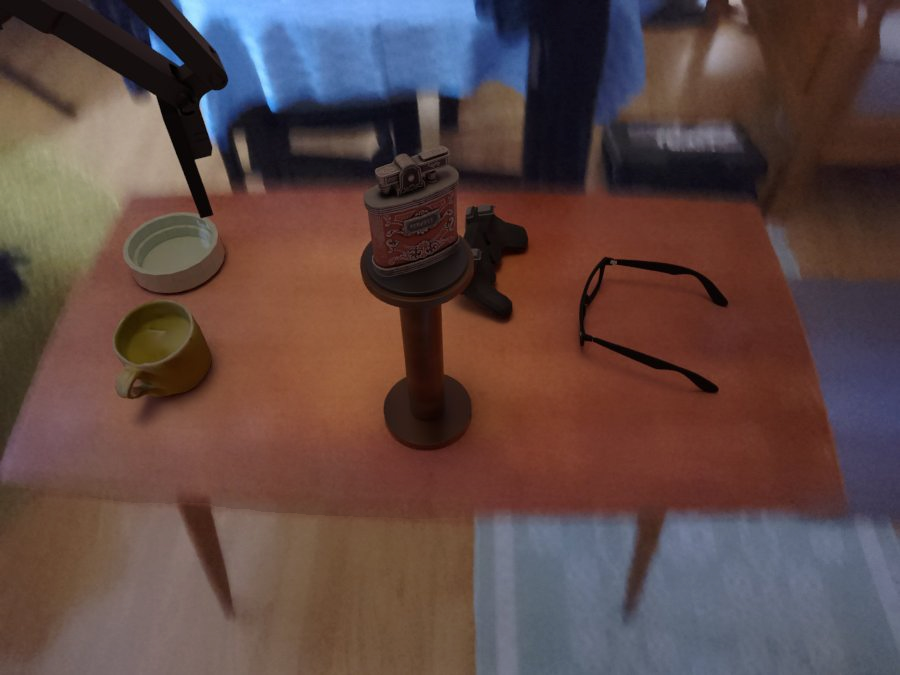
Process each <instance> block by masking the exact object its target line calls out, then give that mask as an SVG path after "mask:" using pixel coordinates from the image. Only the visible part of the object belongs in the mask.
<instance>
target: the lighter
mask: <svg viewBox="0 0 900 675" xmlns="http://www.w3.org/2000/svg"><path fill="white" fill-rule="evenodd" d="M450 164H451V151H450V150H449V149H448V148H447V147H445V146H444V145H440V146H437V147H433V148H431V149H428V150H425V151H422V152H419V153H418V154H416V155H413V156H409V155H408V154H407V153H400V154H397V155H396V156H395V157H394V159H393V161H392V162H391V163H388V164H385V165H383V166H380V167H377V168H375V170H374V173H375V181H376V184H375V185H373V186H372V187H369V188H368V189H367V190H365V191H364V193H363V205H364V207H365V210H366V211H367V217H368V224H369V231H370V238H371V240H372V247H373V254H374V255H373V256H372V262H373V268H374V270H375V272H376V273H377V274H379V275H381V276H384V277H391V276H395V275H400V274H404V273H408V272H411V271H414V270H418V269H421V268H424V267H426V266H429V265H431V264H433V263H435V262H438V261H440V260H442V259H444V258H445V257H447V256H449V255H451V254H452V253H454V252H456V251H457V250H458V248H459V235H460V234H459V233H458V187H459V185H460V174H459V171H458V170H457V169H456V168H455V167H454V166H451V165H450ZM458 234H459V235H458Z"/></svg>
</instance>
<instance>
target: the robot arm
mask: <svg viewBox="0 0 900 675" xmlns="http://www.w3.org/2000/svg"><path fill="white" fill-rule="evenodd" d="M122 1H123V2H124V3H125V5H127V6H128V7H129V9H131V11H132V12H133V13H134V14H135V15H137V17H138V18H139V19H140V20H141V21H142V22H143V23H144V24H145V25H146V26H147V27H148V28H149V29H150V30H151V32H153V33H154V34H155V35H156V36H157V37H158V38H159V39H160V40H161V41H162V42H163V43H164V45H165V46H166V47H167V48H168V49H169V50H170V51H171V52H173V54H175V56H176V57H177V58H178V59H179V60H180V61H181V62H182V63H183V64H181V65H179V64H177V63H176V62H174V61H173V60H171V59H170V58H168V57H166V56H165V55H163V54H162V53H160V52H158V51H157V50H155V49H154V48H152V47H151V46H149V45H148V44H147V43H145V42H143V41H142V40H140V39H139V38H137V37H135V35H132V34H131V33H129V32H128V31H126V30H125V29H123V28H122V27H120V26H119V25H117V24H115V23H114V22H112V21H111V20H109V19H108V18H106V17H104V16H103V15H102V14H100V13H98V12H97V11H96V10H94V9H93V8H91V7H89V6H88V5H87V4H85V3H83V2H81V1H80V0H0V31H2V30H4V25H5V24H6V23H8V22H9V21H11V20H12V19H13V17H15V18H16V19H18V20H20V21H22V22H23V23H25V24H26V25H28V26H30V27H32V28H34V29H35V30H37V31H38V32H40V33H43V34H45V35H52V36H55V37H56V38H58V39H59V40H62V41H63V42H65V43H67V44H68V45H70V46H72V47H73V48H74V49H76V50H78V51H80V52H82V53H83V54H85V55H87V56H89V57H90V58H91V59H93V60H95V61H96V62H98V63H100V64H102V65H103V66H105V67H106V68H108V69H110V70H112V71H114V72H116V73H117V74H119V75H120V76H122V77H124V78H125V79H126V80H129V81H131V82H132V83H134V84H136V85H137V86H139V87H140V88H142V89H144V90H145V91H147V92H149V93H150V94H152V95H154V96H155V97H156V101H157V105H158V107H159V111H160V114H161V118H162V121H163V123H164V126H165V129H166V131H167V133H168V136H169V139H170V142H171V144H172V147H173V150H174V152H175V155H176V157H177V160H178V162H179V166H180V168H181V170H182V173H183V176H184V178H185V181H186V184H187V186H188V189H189V192H190V194H191V197H192V199H193V202H194V206H195V208H196V210H197V214H199V215H200V218H205V217H207V218H209V217H212V216H214V211H213V209H212V206H211V202H210V200H209V197H208V193H207V190H206V188H205V184H204V182H203V179H202V176H201V174H200V171H199V167H198V165H197V162H196V160H200V159H204V158H208V157H212V155H213V144H212V141H211V138H210V135H209V132H208V129H207V126H206V123H205V120H204V117H203V114H202V111H201V106H200V104H201V103H200V102H201V100H202V99H203V97H204V96H205V95H207V94H208V93H209V92H211V91H214V92H215V91H217V92H219V91H221V90H224V89H226V87H227V86H228V83H229V77H228V73H227V71H226V69H225V67H224V65H223V62H222V59H221V58H220V55H219V53H218V52H217V50H216V49H215V48H214V47H213V46H212V45H211V43H209V41H207V39H206V38H205V37H204V36H203V35H202V34H201V32H200V31H198V29H197V28H196V27H195V26H194V25H193V23H191V21H190V20H188V18H187V17H186V16H185V15H184V13H183V12H181V11H180V9H179V8H178V7H177V6H176V5H175V4H174V3H173V2H172V0H122Z"/></svg>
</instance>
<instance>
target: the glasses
mask: <svg viewBox="0 0 900 675" xmlns="http://www.w3.org/2000/svg"><path fill="white" fill-rule="evenodd" d="M615 265H616V266H621V267H627V268H628V267H629V268H634V269H638V270H639V269H641V270H645V271H652V272H657V273H663V274H667V275H671V276H680V275H688V276H693V277H695V278H696V279H697V280H698V281H699V282H700V283H701V284H702V286H703V288H704V289H705V291H706V292H707V294H708V296H709V298H710V299H711V301H712V302H713V303H714V304H715V305H717V306H720V307H727V306H728V305H729V300H728V299H727V297H726V296H725V295H724V294H723V292H722V291H720V289H719V288H718V287H717V285H716V284H715V283H714V282H713V281H712V280H711V279H710V278H708V277H707V276H706V275H704V274H702V273H701V272H699V271H697V270H694V269H692V268H690V267H686V266H684V265H679V264H674V263H667V262H661V261H654V260H653V261H651V260H641V259H640V260H639V259H628V258H627V259H625V258H614V257H610V256H604V257H603V258H602V259H601V260H600V261H599V262H598V263H597V264H596V265H595V267H594V268H593V270H592V271H591V272H590V274H589V276H588V278H587V280H586V282H585V284H584V288H583V290H582V294H581V298H580V300H579V310H578V322H579V346H580V347H584V346H585V342H590V343H594V344H597V345H599V346H601V347H604V349H605V348H606V349H608V350H609V351H612V352H614V353H617V354H618V355H622V356H624V357H626V358H628V359H631V360H632V361H635V362H638V363H640V364H642V365H645V366H647V367H649V368H651V369H655V370H658V371H659V370H662V371H672V372H676V373H680V374H681V375H683V376H685V377H686V378H687V379H688V380H689V381H691V382H692V383H693V384H694V385H695V387H697V388H698V389H699V390H701V391H703V392H706V393H710V394H711V393H712V394H713V393H714V394H715V393H718V392H719V390H720V388H719V387H718V385H716V384H715V383H714V382H712V381H711V380H709V379H707V378H706V377H705V376H702V375H700V374H699V373H697V372H695V371H692V370H689V369H687V368H686V367H685V368H684V367H682V366H679V365H676V364H674V363H671V362H668V361H665V360H663V359H661V358H658V357H655V356H652V355H650V354H647V353H643V352H641V351H638V350H636V349H633V348H629V347H626V346H624V345H623V346H622V345H620V344H617V343H614V342H611V341H609V340H608V341H607V340H605V339H602V338H599V337H597V336H595V335H591V334H588V333H586V330H585V318H586V315H587V306H588V305H590V304H591V303H592V301H593V300H594V298H595V297H596V295H597V294H598V291H599V290H600V288H601V285H602V282H603V279H604V275H605V271H606V270H605V269H606V266H611V267H612V266H615ZM598 271H599V272H598ZM597 272H598V279H597V282H596V284H595V287H594V289H593V290H592V292H591V294H588V290H589V288H590V285H591V283H592V281H593V279H594V276H595V275H596V273H597ZM586 305H587V306H586Z"/></svg>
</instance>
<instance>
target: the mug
mask: <svg viewBox="0 0 900 675" xmlns="http://www.w3.org/2000/svg"><path fill="white" fill-rule="evenodd" d="M111 342H112V349H113V353H114V355H115V356H116V357H117V359H118V360H119V362H120V363H121V364H122V365H123V366H124V369H122V371H120V372H119V374H118V375H117V377H116V379H115V389H116V395H117V396H118V397H120V398H122V399H128V400H136V399H140V398H143V397H144V396H146V395H147V396H151V397H156V398H157V397H160V398H161V397H168V396H172V395H175V394H182V393H183V394H184V393H185V392H189V391H190V390H192V389H193V388H195V387H197V386H198V385H199V384H200V382H202V380H203V379H204V378H205V377H206V376H207V374H208V372H209V371H210V367H211V364H212V354H211V351H210V350H211V349H210V347H209V344H208V343H207V342H208V341H207V340H206V337H205V335H204V334H203V331H202V329H201V326H200V325H199V323H198V322H197V321H196V318H195V317H194V315H193V314H192V312H191V310H190V309H189V308H188V307H187V306H186V305H185V304H183V303H180V302H178V301H176V300H172V299H167V298H164V299H153V300H149V301H146V302H144V303H141V304H140V305H137V306H135V307H134V308H132V309H131V310H130V311H129V312H128V313H126V314H125V315H124V316H123V317H122V318H121V319H120V321H119V323H118V324H117V326H116V327H115V330H114V332H113V334H112V339H111ZM136 381H139V383H140V385H136V386H134V384H135V382H136Z"/></svg>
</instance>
